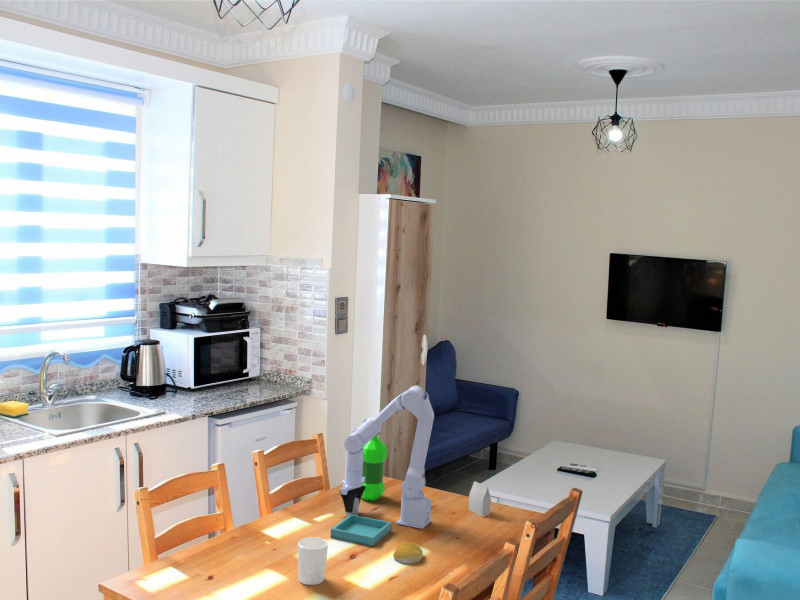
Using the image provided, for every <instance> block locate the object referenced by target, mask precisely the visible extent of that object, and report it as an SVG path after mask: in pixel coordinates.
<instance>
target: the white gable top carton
mask: <svg viewBox="0 0 800 600" xmlns="http://www.w3.org/2000/svg"><path fill="white" fill-rule="evenodd" d="M468 495H469V496H468V510H470V511H472V512H475V513H476V514H475V513H474V514H475V515H477V514H479V515H481V516H483V515H487V514H490V515H491V503H492V501H491V500H492V498H491V493H490V490H489V486H486V485H484V484H482V483H479V482H478V481H473V483H472V486H471V489H470V491H469V494H468ZM470 511H469V512H470ZM472 512H471V513H472ZM479 515H478V516H479ZM481 516H480V517H481Z"/></svg>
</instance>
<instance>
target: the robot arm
mask: <svg viewBox="0 0 800 600" xmlns="http://www.w3.org/2000/svg"><path fill="white" fill-rule="evenodd" d="M405 409H406V410H407V411H409V412H410V413H412V414H413V416H414V417H415V418H416V419H417V423H416V429H415V432H414V433H415V434H414V440H413V445H412V449H411V454H410V461H409V465H408V469H407V471H406V475H405V479H404V480H403V482H402V483H401V486H400V491H401V500H400V502H401V503H400V516H399V517H400V518H399V519H398V520H396V521H395V524H397V525H401V526H407V527H410V528H411V527H412V528H416V529H422V530H423V529H424V528H425V527H427V526H428V525H429V524H430V523H431V522H432V519H431V514H432V499H430V498H429V497H426V496H425V494H424V490H423V488H425V486H426V482H427V481H426V476H425V473H426V469H425V464H426V461H427V460H426V459H427V454H428V449H429V443H430V440H431V439H430V438H431V434H432V430H433V424H434V421H435V420H434V419H435V411H434V410H433V407H432V404H431V401H430V396H429V394H428V393H427V392H426V390H425V389H424V388H423V387H422V386H420V385H412V386H410V387H409V388H408V389H407V390H404V391H403V392H402V393H401V394H399V395H398V396H396V397H395V398H394V399H392V400H391V401H390V402H389V403H388V404H387V405H386V406H385V407H384V408H383V409H382V410H381V411H380V412H379V413H378V414H377V415H376V416H375V417H370V416H369V417H368V418H364V419H363V420H362V423H361V424H360V425H359V426H358V427H357V428H354V429H353V430H352V432H353V433H351V434H350V435H348V436H347V437H346V439H345V440H344V449H345V450H346V452H345V465H344V466H345V468H344V479H342V480H341V484H342V487H341V488H340V490H339V495H340V496H341V498H342V499H341V500H342V502H343V507H344V513H345V512H349V513H352V510H353V505H354V500H355V497H356V498H359V505H360V503H361V500H362V494H363V492H364V490H365V489H366V486H363V483H365V477H362V472H363V447H364V446H365V445H366V443H368V442H369V441H370V440H371V439H372V438H373V437H374V436H376V435H377V434H378V433H379V432H380V433H381V431H382V424H383V423H385V422H386V421H387V420H388V419H389V418H391V417H392V415H394V414H395V413H396V412H397V411H404V410H405Z"/></svg>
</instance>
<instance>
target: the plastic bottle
mask: <svg viewBox="0 0 800 600" xmlns="http://www.w3.org/2000/svg"><path fill="white" fill-rule="evenodd" d="M380 433H381V431H380V432H379V433H378V434H377V435H376V436H374V437H373V438H372V439H371V440H370V441H369V442H368V443H366V445H365V446H364V447H363V472H362V477H365V483H363V486H366V489H365V490H364V492H363V494H362V497H361V499H363V500H365V501H368V500H370V501H369V502H371V501H372V502H373V500H374V501H377V500H378V499H379V498H380V497H382V495H383V494H385V489H386V487H385V483H384V482H383V477H384V476H383V475H384V462H385V460H386V459H387V457H388V451H389V450H388V447H387V446H386V445H385V443H384V442H383V441H382V440H380V439H379V435H380Z"/></svg>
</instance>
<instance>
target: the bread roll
mask: <svg viewBox="0 0 800 600" xmlns="http://www.w3.org/2000/svg"><path fill="white" fill-rule="evenodd" d="M423 554H424V552H423V550H422V548H421V546H419V545H418V544H417V543H415V542H412V541H411V542H410V541H403V542H402V543H400V544H399V545H397V546H396V548H395V551H394V552H393V555H392V556H393V559H394V561H396V562H399V563H402V564H408V565H409V564H411V565H412V564H416V563H419V562H420V561H421V560H422V559H423V556H424V555H423Z"/></svg>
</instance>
